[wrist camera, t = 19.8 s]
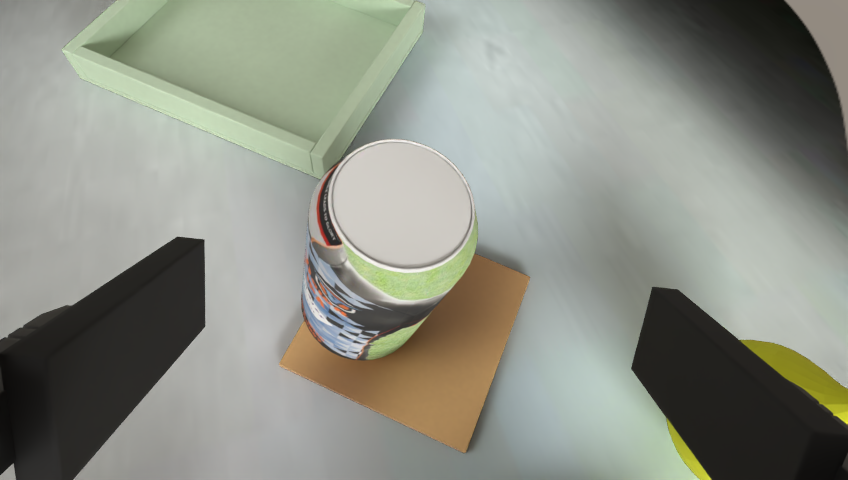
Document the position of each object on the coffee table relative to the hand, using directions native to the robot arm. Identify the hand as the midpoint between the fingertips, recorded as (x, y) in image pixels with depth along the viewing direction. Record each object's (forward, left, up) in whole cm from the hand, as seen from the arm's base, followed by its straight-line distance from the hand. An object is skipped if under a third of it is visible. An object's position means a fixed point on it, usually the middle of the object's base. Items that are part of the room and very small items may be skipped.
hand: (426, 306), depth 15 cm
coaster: (-1, +4, -12) cm, 13 cm away
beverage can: (-3, +3, -12) cm, 13 cm away
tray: (-18, +17, -12) cm, 27 cm away
